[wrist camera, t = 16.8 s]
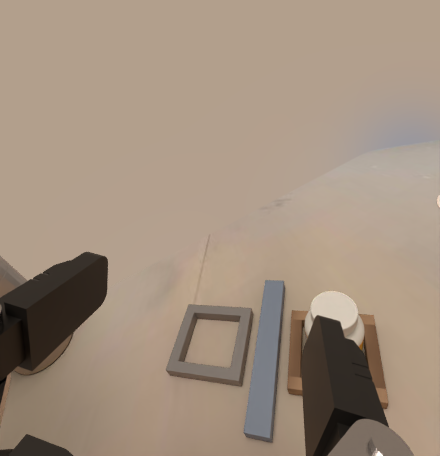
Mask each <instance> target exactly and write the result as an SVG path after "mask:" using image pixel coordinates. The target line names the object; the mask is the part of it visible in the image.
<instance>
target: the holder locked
mask: <svg viewBox="0 0 440 456" xmlns="http://www.w3.org/2000/svg"><path fill="white" fill-rule="evenodd" d="M308 312H309V311H293V310H292V317H291V334H290V352H289V369H288V387H287V388H288V392H289V394H294V395H301V396H303V393H302V378H301V360H302V331H303V326H304V327H305V318H306V315H307V313H308ZM359 316H360V317H361V319H362V321H363V324H364V331H365V333H364V348H365V355H366V361H367V364H368V367H369V368H368V370H370V373H371V376H372V382H374V385H375V387H376V390H377V393H378V396H379V399H380V402H381V405H382V408H385V409H387V406H388V399H387V393H386V387H385V381H384V375H383V369H382V363H381V357H380V351H379V345H378V339H377V333H376V327H375V321H374V315H362V314H359Z"/></svg>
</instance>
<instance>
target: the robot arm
mask: <svg viewBox="0 0 440 456" xmlns="http://www.w3.org/2000/svg"><path fill="white" fill-rule="evenodd" d="M107 275H108V260H107V258H106V257H105V256H101V255H98V254H94V253H90V252H85V253H83V254H81V255H80V256H78V257H76V258H75V259H73V260H71V261H66V262H63V263H60V264H56V265H54V266H52V267H51V268H49V269H47V270H46V271H44V272H43V274H39V275H37V276H35V277H34V278H33V280H32V279H30V280H29V281H27V280H26V279H25V278H24V277H23V276H22V275H21V274H20V273H19V272H17V271H16V270H15V269H14V268H13V267H12V266H11V265H10V264H9V263H7V262H6V261H5V260H4V259H3V258H2V257H1V256H0V426H1V422H2V417H3V413H4V408H5V404H6V399H7V395H8V391H9V386H10V382H11V374H10V373H11V372H12V371H13V370H14V371H16V372H18V373H20V374H23V375H29V374H33V373H36V372H39V371H41V370H42V369H44V368H46V367H47V366H49V365H50V364H51V363H53V362H54V361H55V360H56V359H57V358H58V357H59V356H60V355H61V353H62V352H63V351H64V350H65V348H66V347H67V345H68V343H69V341H70V339H71V336H72V333H73V332H74V331H75V330H76V329H77V328H78V327H79V326H80V325H81V324H82V323H83V322H84V321H85V320H87V319H88V318H89V317H90V316H91V315H92V314H93V313H94V312H95V311H96V310H97V309H98V308H99V307H100V306H101V305H102V303H103V302H104V300H105V297H106V294H107ZM368 368H369V367H368V364H367V361H366V358H365V355H364V353H363V352H362V350H361V349H360V348H359V347H358V345H357V344H356V343H355V341H354V340H351V339H347V338H345V337H344V333H343V329H342V326H341V322H340V321H338V320H334V319H331V318H327V317H323V316H320V315H317V316H316V317H315V319H314V321H313V324H312V327H311V330H310V333H309V335H308V338H307V341H306V344H305V347H304V350H303V354H302V360H301V376H302V393H303V411H304V428H305V446H306V456H414V455H413V453H412V451H411V450H410V448H409V447H408V445H407V444H406V443H405V442H404V441H403V440H402V438H401V437H400V436H399V435H397V434H396V433H395V432H394V431H393V430H391V429H390V428H389V426H388V423H387V420H386V417H385V414H384V411H383V408H382V405H381V402H380V399H379V396H378V393H377V390H376V387H375V385H374V382H372V376H371V373H370V370H368ZM0 456H73V455H72V454H71V453H70V452H69V451H67V450H66V449H64V448H62V447H59V446H56V445H54V444H51V443H49V442H46V441H43V440H41V439H38V438H36V437H33V436H31V435H28V434H26V435H25V437H24V438H23V439H22V440H21V441H20V443H19V444H18V445H17V446H16V447H15V448H14V449H6V450H0Z"/></svg>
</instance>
